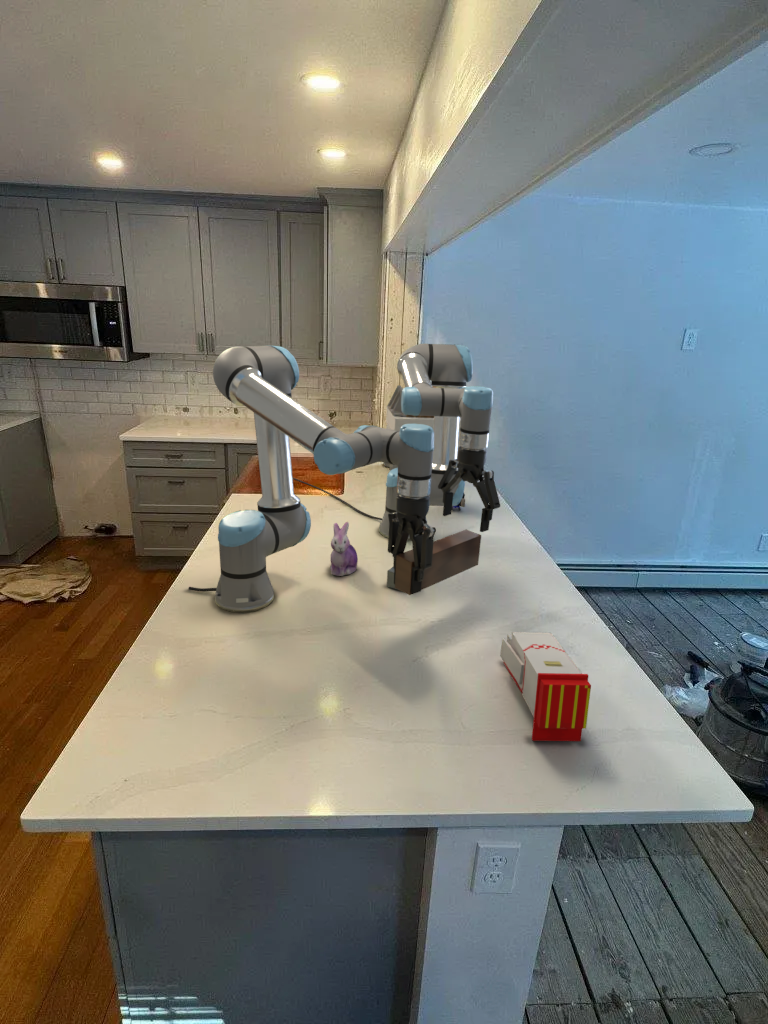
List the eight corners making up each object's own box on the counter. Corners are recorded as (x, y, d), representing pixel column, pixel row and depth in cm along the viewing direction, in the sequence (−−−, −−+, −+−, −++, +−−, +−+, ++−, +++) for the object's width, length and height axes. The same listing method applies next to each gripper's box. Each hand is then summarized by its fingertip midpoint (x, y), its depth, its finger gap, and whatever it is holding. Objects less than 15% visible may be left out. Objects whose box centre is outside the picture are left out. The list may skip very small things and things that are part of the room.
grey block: (386, 586, 162) (387, 570, 160) (394, 579, 166) (395, 564, 164) (402, 591, 160) (403, 575, 158) (410, 584, 164) (411, 568, 162)
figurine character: (465, 515, 224) (460, 499, 237) (467, 498, 221) (462, 483, 234) (448, 515, 224) (444, 499, 237) (450, 498, 220) (445, 482, 234)
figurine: (335, 579, 164) (336, 531, 159) (322, 565, 172) (322, 519, 167) (364, 574, 168) (366, 527, 163) (350, 560, 177) (351, 515, 172)
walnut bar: (409, 595, 132) (411, 562, 129) (394, 587, 135) (396, 555, 132) (478, 564, 149) (481, 535, 146) (463, 558, 152) (466, 529, 149)
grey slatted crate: (382, 463, 289) (386, 382, 275) (445, 464, 293) (451, 384, 279) (390, 482, 257) (394, 392, 243) (460, 483, 261) (468, 394, 247)
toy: (548, 616, 130) (600, 681, 101) (542, 669, 133) (592, 748, 104) (495, 615, 130) (533, 680, 101) (491, 669, 133) (526, 747, 103)
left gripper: (374, 486, 131) (370, 577, 138) (430, 508, 118) (422, 607, 126) (398, 481, 135) (393, 569, 143) (454, 502, 122) (445, 598, 130)
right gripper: (429, 439, 154) (423, 511, 162) (501, 461, 137) (491, 541, 145) (448, 435, 159) (441, 506, 167) (520, 456, 142) (509, 534, 149)
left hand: (407, 587), depth 134 cm, fingers closed on walnut bar, 5 cm apart
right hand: (465, 522), depth 156 cm, fingers open, 13 cm apart
